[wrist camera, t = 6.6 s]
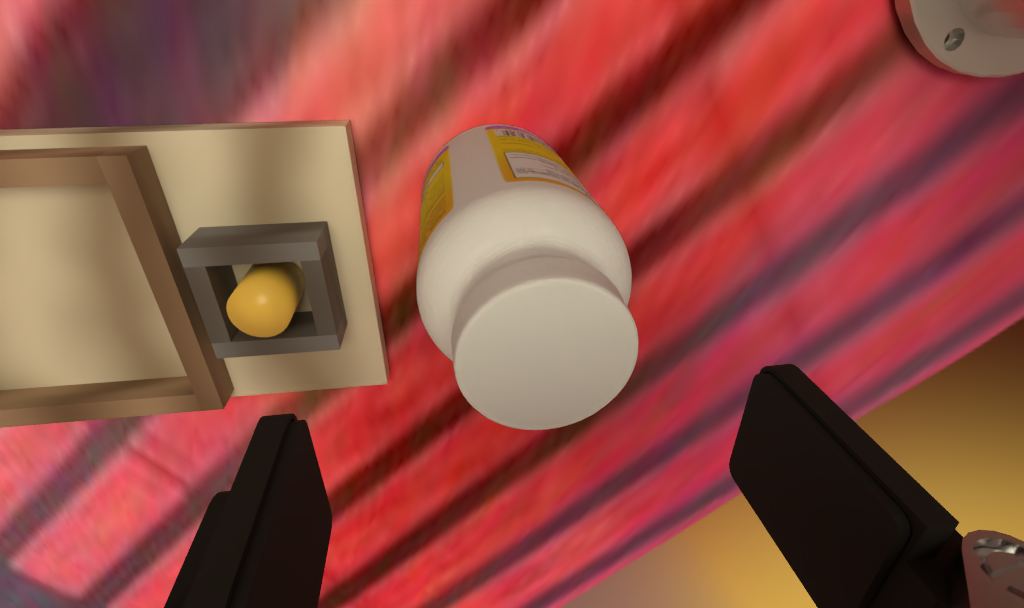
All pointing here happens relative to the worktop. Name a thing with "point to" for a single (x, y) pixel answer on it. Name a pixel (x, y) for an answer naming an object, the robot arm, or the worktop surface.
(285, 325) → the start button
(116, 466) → the worktop surface
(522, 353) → the supplement bottle
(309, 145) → the beige tray
